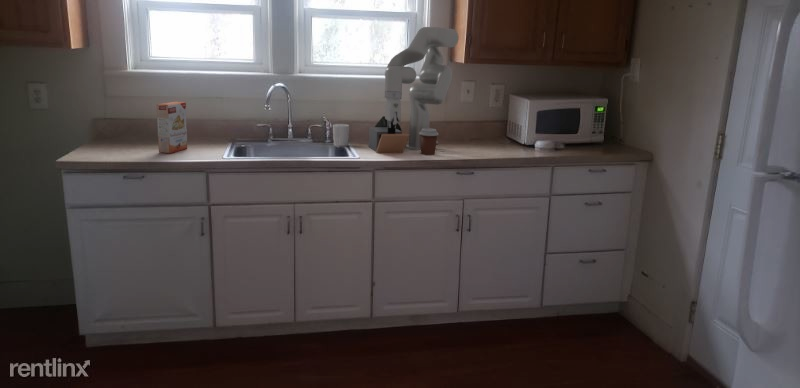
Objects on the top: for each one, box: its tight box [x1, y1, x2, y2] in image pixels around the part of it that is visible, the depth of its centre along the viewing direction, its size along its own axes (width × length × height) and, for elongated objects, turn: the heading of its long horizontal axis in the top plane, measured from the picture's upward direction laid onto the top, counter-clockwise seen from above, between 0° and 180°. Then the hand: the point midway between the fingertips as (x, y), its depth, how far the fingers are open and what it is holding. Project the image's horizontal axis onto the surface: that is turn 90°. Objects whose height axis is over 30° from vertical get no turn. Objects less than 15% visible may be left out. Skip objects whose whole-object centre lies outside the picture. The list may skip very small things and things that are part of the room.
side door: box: [375, 133, 409, 154], centre depth 271 cm, size 13×1×13 cm
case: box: [368, 126, 403, 153], centre depth 283 cm, size 12×14×10 cm
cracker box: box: [156, 101, 188, 154], centre depth 261 cm, size 14×6×21 cm, turn 168°
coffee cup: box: [419, 127, 440, 156], centre depth 276 cm, size 9×9×12 cm
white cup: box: [332, 123, 350, 147], centre depth 291 cm, size 8×8×10 cm
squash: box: [374, 115, 403, 132], centre depth 299 cm, size 14×15×15 cm
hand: (391, 136), depth 269 cm, fingers closed
